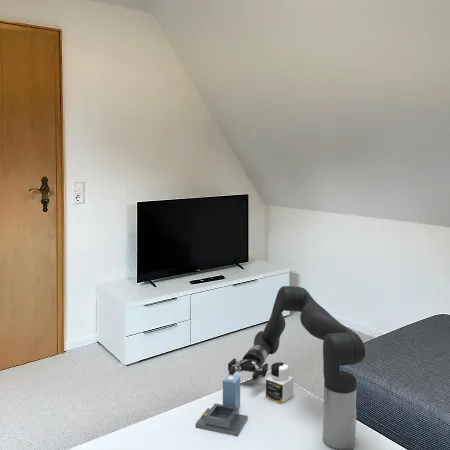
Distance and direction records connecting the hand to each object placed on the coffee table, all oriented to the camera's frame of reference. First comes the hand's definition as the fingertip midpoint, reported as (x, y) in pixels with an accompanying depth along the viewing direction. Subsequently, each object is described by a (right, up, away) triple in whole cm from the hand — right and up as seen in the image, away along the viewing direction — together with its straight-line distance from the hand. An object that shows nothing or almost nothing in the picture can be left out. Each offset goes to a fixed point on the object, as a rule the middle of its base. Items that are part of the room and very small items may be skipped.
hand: (241, 375), depth 170 cm
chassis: (-7, -9, -18) cm, 21 cm away
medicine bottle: (+13, -7, -1) cm, 15 cm away
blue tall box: (-4, -8, -10) cm, 13 cm away
